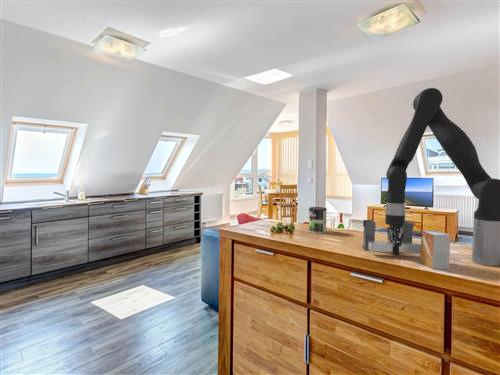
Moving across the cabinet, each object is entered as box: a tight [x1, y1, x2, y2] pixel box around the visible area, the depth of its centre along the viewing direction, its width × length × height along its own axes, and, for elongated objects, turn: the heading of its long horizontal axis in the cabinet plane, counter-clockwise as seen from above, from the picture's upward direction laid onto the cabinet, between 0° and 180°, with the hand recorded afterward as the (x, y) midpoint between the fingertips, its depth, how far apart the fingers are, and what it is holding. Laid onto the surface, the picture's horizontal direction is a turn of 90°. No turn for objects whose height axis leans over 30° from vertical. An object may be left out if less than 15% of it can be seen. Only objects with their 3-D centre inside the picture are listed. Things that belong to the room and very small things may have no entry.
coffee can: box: [308, 206, 328, 234], centre depth 175 cm, size 10×10×14 cm
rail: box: [368, 240, 421, 254], centre depth 126 cm, size 20×4×4 cm, turn 81°
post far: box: [361, 219, 376, 251], centre depth 137 cm, size 5×6×13 cm
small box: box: [419, 229, 451, 270], centre depth 112 cm, size 8×6×13 cm
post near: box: [400, 220, 415, 242], centre depth 134 cm, size 5×6×13 cm
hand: (394, 253), depth 126 cm, fingers closed on rail, 3 cm apart
